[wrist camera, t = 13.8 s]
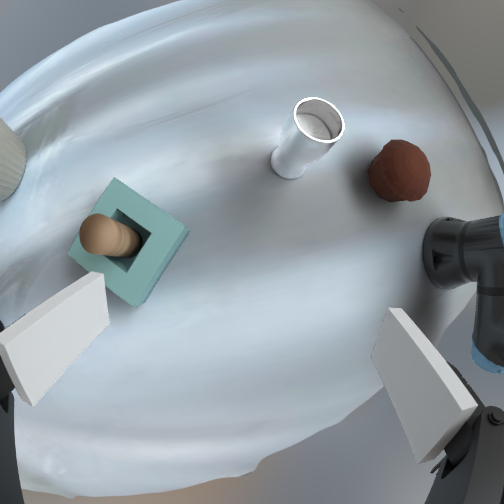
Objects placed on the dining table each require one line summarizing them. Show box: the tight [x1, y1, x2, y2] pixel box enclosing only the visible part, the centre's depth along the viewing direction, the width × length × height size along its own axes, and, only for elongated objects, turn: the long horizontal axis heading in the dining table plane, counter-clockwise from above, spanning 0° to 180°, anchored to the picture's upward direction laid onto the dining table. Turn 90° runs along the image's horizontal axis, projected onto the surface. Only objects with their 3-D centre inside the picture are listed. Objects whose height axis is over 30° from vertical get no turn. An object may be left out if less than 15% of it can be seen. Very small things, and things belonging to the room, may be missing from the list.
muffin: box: [368, 140, 431, 202], centre depth 41 cm, size 12×11×10 cm
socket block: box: [67, 177, 190, 308], centre depth 36 cm, size 13×13×6 cm
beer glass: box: [271, 97, 344, 179], centre depth 36 cm, size 7×7×15 cm
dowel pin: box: [79, 213, 142, 258], centre depth 31 cm, size 4×4×12 cm
